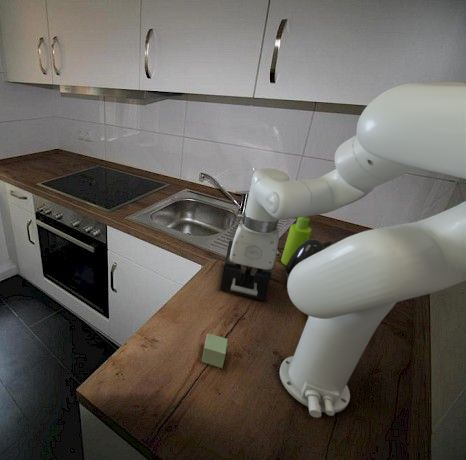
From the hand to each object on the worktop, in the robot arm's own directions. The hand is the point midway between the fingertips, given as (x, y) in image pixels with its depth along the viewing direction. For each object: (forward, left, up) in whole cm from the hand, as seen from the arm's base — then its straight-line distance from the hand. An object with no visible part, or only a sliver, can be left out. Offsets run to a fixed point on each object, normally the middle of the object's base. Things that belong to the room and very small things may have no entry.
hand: (244, 283), depth 83 cm
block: (-21, +4, -7) cm, 22 cm away
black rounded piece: (+17, -17, -8) cm, 25 cm away
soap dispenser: (+28, -15, -8) cm, 33 cm away
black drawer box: (+11, 0, -7) cm, 14 cm away
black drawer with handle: (+7, 0, -7) cm, 10 cm away
